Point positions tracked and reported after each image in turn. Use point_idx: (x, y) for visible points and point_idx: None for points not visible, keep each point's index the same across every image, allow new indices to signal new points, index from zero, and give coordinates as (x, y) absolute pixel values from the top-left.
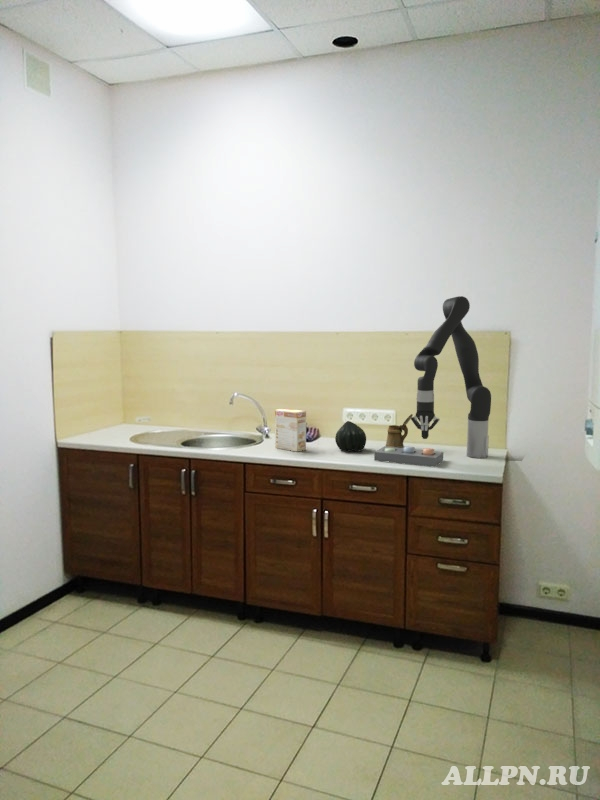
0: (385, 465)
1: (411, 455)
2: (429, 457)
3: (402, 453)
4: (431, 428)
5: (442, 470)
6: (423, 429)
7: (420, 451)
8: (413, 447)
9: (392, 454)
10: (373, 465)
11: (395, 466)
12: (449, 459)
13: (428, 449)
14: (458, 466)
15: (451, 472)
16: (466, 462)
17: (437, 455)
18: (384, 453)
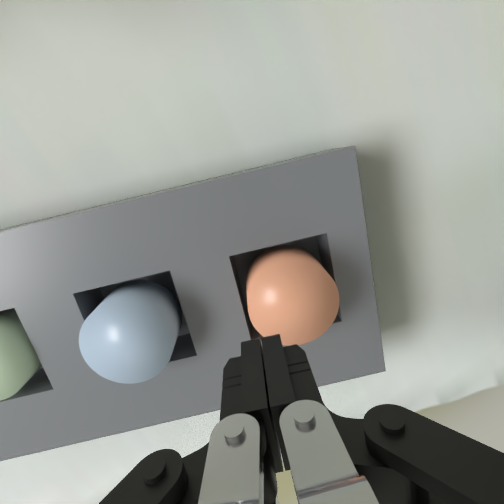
0: (131, 465)
1: (220, 407)
2: (343, 379)
3: (136, 396)
4: (427, 500)
5: (421, 377)
6: (273, 499)
7: (197, 257)
8: (153, 320)
9: (92, 434)
10: (86, 498)
11: (183, 451)
12: (356, 82)
13: (295, 309)
14: (471, 242)
15: (473, 383)
16: (489, 97)
17: (367, 300)
18: (37, 449)
